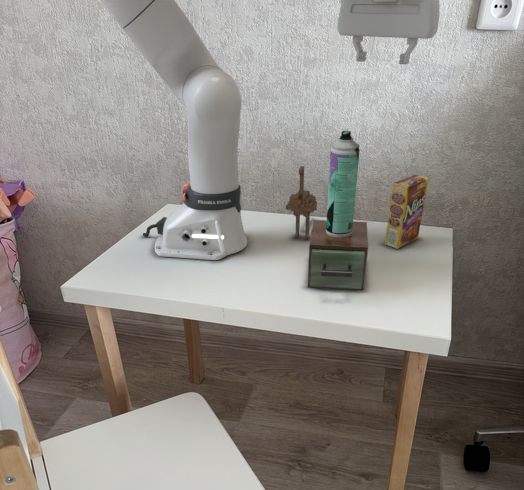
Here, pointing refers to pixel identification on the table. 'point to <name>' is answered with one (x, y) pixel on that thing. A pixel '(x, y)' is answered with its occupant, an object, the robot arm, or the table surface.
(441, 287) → the table surface
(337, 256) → the cabinet drawer
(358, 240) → the cabinet
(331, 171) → the spray can
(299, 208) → the ostrich figurine
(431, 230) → the table surface
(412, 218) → the candy box
